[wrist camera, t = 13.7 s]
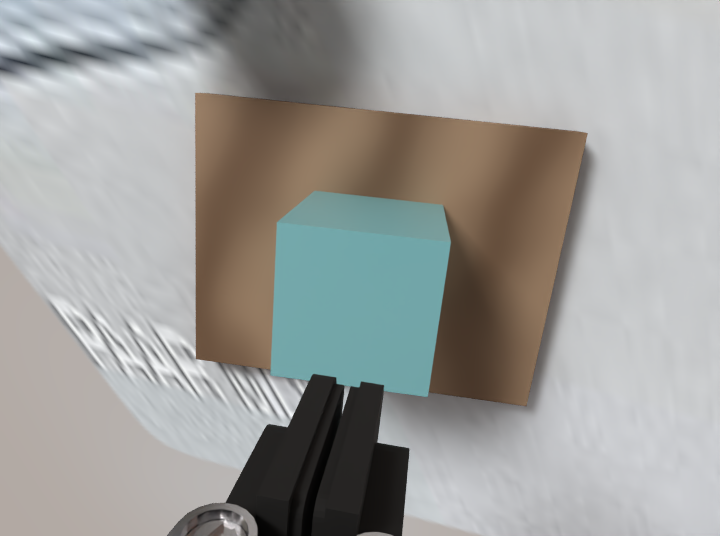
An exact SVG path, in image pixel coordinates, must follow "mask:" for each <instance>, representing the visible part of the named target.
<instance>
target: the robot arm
mask: <svg viewBox="0 0 720 536" xmlns="http://www.w3.org/2000/svg"><path fill="white" fill-rule="evenodd" d="M383 393H384V385H381V384H375V383H368V382H362V381H361V383H360V387H354V386H351V388H350V391H349V394H348V397H347V400H346V404H345V407H344V410H343V413H342V408H343V397H344V385H341V384H337V379H336V377H331V376H325V375H318V374H313V375H312V376H311V378H310V381H309V383H308V385H307V387H306V389H305V391H304V394H303V396H302V398H301V400H300V402H299V404H298V407H297V409H296V411H295V413H294V415H293V417H292V420H291V422H290V424H289V426H288V427H283V426H277V425H271V424H269V425H267V426H266V428H265V429H264V431H263V433H262V435H261V437H260V439H259V440H258V442H257V444H256V446H255V448H254V450H253V452H252V454H251V455H250V457H249V459H248V461H247V463H246V465H245V467H244V469H243V471H242V472H241V474H240V477H239V478H238V480H237V482H236V484H235V486H234V488H233V490H232V491H231V493H230V495H229V497H228V499H227V501H226V503H212V504H208V505H205V506H201V507H199V508H197V509H195V510H193V511H191V512H189V513H187V514H186V515H185V516H184V517H183V518H182V519H181V520H180V521H179V522H178V523H177V524H176V525H175V526H174V528H173V529H172V530H171V531H170V532H169V534H168V535H167V536H402V528H403V517H404V506H405V494H406V483H407V471H408V460H409V448H405V447H399V446H393V445H387V444H381V443H377V441H378V433H379V425H380V417H381V409H382V401H383Z"/></svg>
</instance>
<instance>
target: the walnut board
mask: <svg viewBox="0 0 720 536" xmlns="http://www.w3.org/2000/svg"><path fill="white" fill-rule="evenodd" d="M587 134H588V133H583V132H578V131H568V130H559V129H549V128H539V127H530V126H520V125H510V124H501V123H491V122H481V121H471V120H462V119H452V118H442V117H433V116H423V115H413V114H403V113H394V112H384V111H374V110H365V109H355V108H345V107H335V106H326V105H316V104H306V103H297V102H287V101H277V100H267V99H258V98H248V97H238V96H229V95H219V94H209V93H195V144H196V359H200V360H207V361H214V362H221V363H228V364H235V365H242V366H249V367H256V368H263V369H270V370H271V350H272V327H273V303H274V279H275V255H276V231H277V222H278V221H279V220H280V219H281V218H283V217H284V216H285V215H286V214H287V213H288V212H290V211H291V210H292V209H293V208H294V207H296V206H297V205H298V204H299V203H300V202H302V201H303V200H304V199H305V198H306V197H308V196H309V195H310V194H311V193H312V192H314V191H322V192H331V193H340V194H349V195H358V196H367V197H376V198H385V199H395V200H404V201H413V202H422V203H431V204H440V205H443V207H444V212H445V217H446V222H447V226H448V231H449V236H450V240H451V245H450V252H449V258H448V265H447V272H446V278H445V285H444V292H443V298H442V305H441V312H440V318H439V325H438V332H437V338H436V345H435V352H434V358H433V365H432V372H431V378H430V385H429V392H431V393H438V394H445V395H452V396H459V397H466V398H473V399H480V400H487V401H494V402H501V403H508V404H515V405H522V406H526V405H527V401H528V396H529V392H530V387H531V383H532V379H533V374H534V370H535V365H536V361H537V356H538V352H539V347H540V343H541V338H542V334H543V330H544V325H545V321H546V316H547V312H548V307H549V303H550V298H551V294H552V290H553V285H554V281H555V276H556V272H557V267H558V263H559V258H560V254H561V249H562V245H563V241H564V236H565V232H566V227H567V223H568V218H569V214H570V209H571V205H572V201H573V196H574V192H575V187H576V183H577V178H578V174H579V169H580V165H581V160H582V156H583V152H584V147H585V143H586V138H587Z"/></svg>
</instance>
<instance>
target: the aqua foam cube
mask: <svg viewBox="0 0 720 536" xmlns="http://www.w3.org/2000/svg"><path fill="white" fill-rule="evenodd" d="M450 245H451V240H450V236H449V231H448V226H447V222H446V217H445V212H444V207H443V205H440V204H431V203H422V202H413V201H404V200H395V199H385V198H376V197H367V196H358V195H349V194H340V193H331V192H322V191H314V192H312V193H311V194H310V195H309V196H308V197H306V198H305V199H304V200H303V201H302V202H300V203H299V204H298V205H297V206H296V207H294V208H293V209H292V210H291V211H290V212H288V213H287V214H286V215H285V216H284V217H283V218H281V219H280V220H279V221H278V222H277V231H276V255H275V279H274V303H273V327H272V350H271V374H270V375H272V376H279V377H286V378H294V379H301V380H308V381H310V378H311V376H312V375H313V374H318V375H325V376H331V377H336V379H337V384H341V385H344V386H354V387H360V383H361V381H362V382H368V383H375V384H381V385H384V391H387V392H394V393H402V394H409V395H416V396H423V397H428V392H429V385H430V378H431V372H432V365H433V358H434V352H435V345H436V338H437V332H438V325H439V318H440V312H441V305H442V298H443V292H444V285H445V278H446V272H447V265H448V258H449V252H450Z"/></svg>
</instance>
